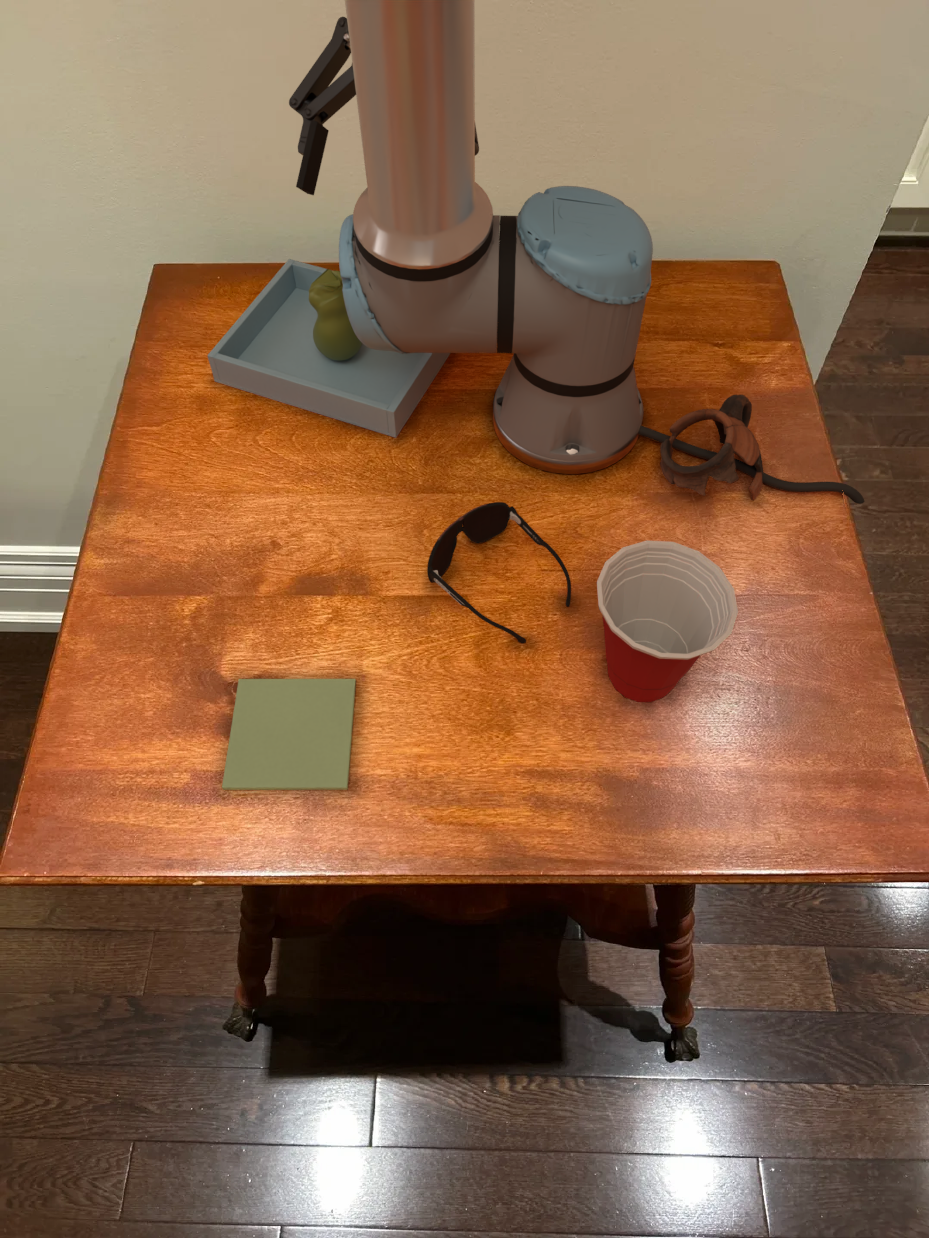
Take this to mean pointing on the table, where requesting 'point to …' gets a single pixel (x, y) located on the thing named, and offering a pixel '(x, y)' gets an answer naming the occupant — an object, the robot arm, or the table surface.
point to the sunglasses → (479, 529)
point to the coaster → (291, 735)
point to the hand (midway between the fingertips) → (363, 206)
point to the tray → (317, 361)
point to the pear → (332, 318)
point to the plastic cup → (661, 615)
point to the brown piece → (722, 465)
